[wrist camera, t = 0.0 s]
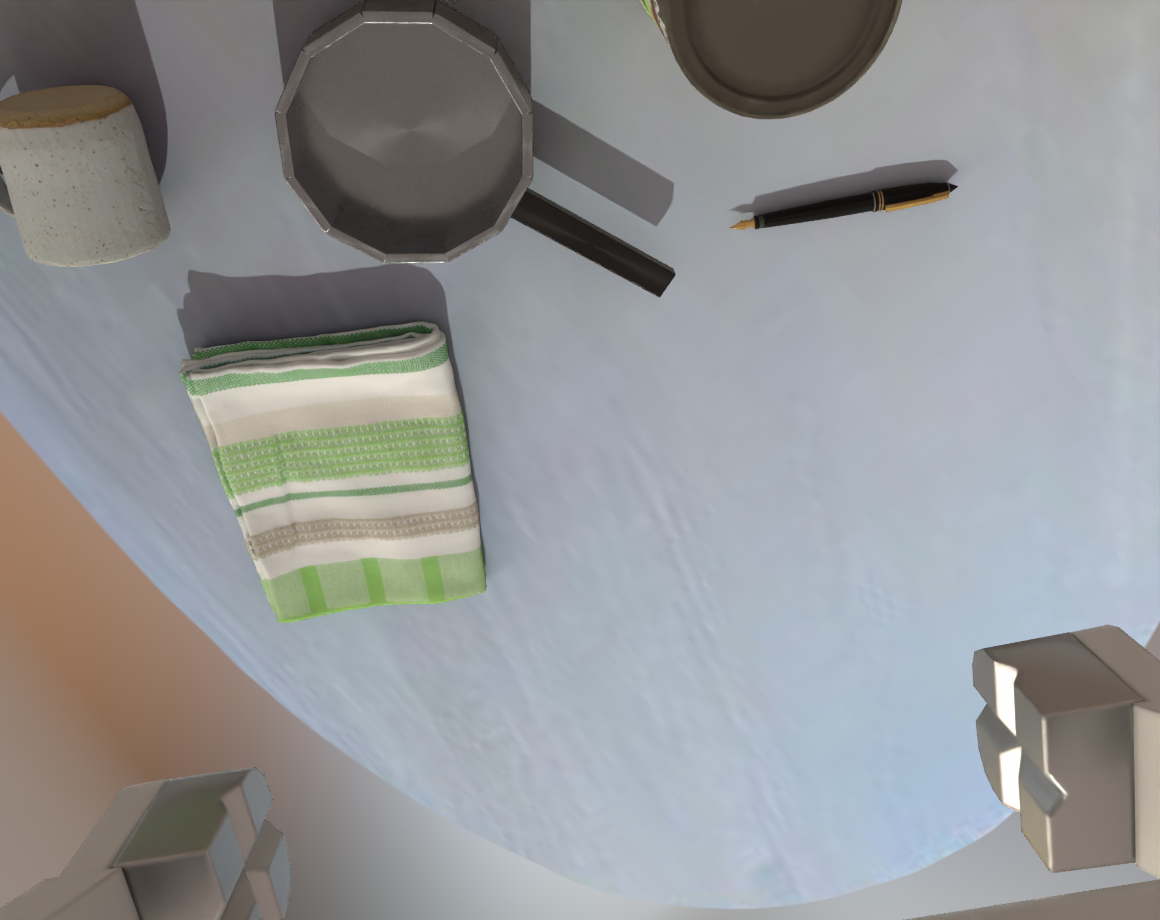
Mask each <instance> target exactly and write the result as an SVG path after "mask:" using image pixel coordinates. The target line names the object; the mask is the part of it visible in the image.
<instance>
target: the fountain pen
mask: <svg viewBox="0 0 1160 920" xmlns="http://www.w3.org/2000/svg"><path fill="white" fill-rule="evenodd" d="M957 187H958V186H955V185H953V184H950V183H926V184H918V185H910V186H902V187H896V188H890V189H884V190H878V191H872V192H871V193H869V194H863V195H858V196H852V197H847V198H841V199H836V200H831V201H826V202H821V203H816V204H811V205H806V206H802V207H797V208H792V209H787V210H783V211H778V212H773V213H769V214H764V215H760V216H754V218H753V219H751V220H746V221H741V222H739V223H738V224H736V225H735V226H732V227H730V228H736V229H741V230H743V229H746V228H749V227H753V228H755V229H759V228H766V227H773V226H780V225H787V224H794V223H801V222H808V221H814V220H821V219H828V218H834V217H840V216H845V215H851V214H857V213H863V212H868V211H872V212H876V211H881V210H886V212H890V211H895V210H900V209H904V208H909V207H914V206H918V205H923V204H928V203H932V202H936V201H939V200H942V199H945V198H949V193H950V192H952V191H953V190H954V189H955V188H957Z"/></svg>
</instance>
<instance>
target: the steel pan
mask: <svg viewBox="0 0 1160 920" xmlns="http://www.w3.org/2000/svg"><path fill="white" fill-rule="evenodd" d="M275 111H276V112H275V118H276V125H277V132H278V139H279V146H280V153H281V159H282V166H283V173H284V178H286V182H287V183H288V185H289V186H290V187H291V189H292V190H293V191H294V193H295V194H296V195H297V197H298V198H299V199H300V201H301V202H302V203H303V205H304V206H305V207H306V209H307V210H308V211H309V213H310V214H311V215H312V217H313V218H314V219H315V221H316V222H317V223H318V225H319V226H320V227H321V229H322V230H323V231H324V232H327V235H329V236H331V237H333V238H335V239H337V240H339V241H341V242H343V243H345V244H347V245H349V246H351V247H353V248H355V249H357V250H359V251H361V252H363V253H365V254H367V255H369V256H371V257H373V258H375V259H377V260H379V261H381V262H384V261H385V263H446V262H447V261H448V262H450V261H451V260H453V259H455V258H457V257H459V256H460V255H462V254H464V253H466V252H467V251H469V250H471V249H473V248H475V247H476V246H478V245H480V244H482V243H484V242H485V241H487V240H489V239H491V238H492V237H494V236H496V235H498V234H500V231H503V229H504V227H505V226H506V224H507V222H508V220H509V219H510V217H511V218H513V219H515V220H517V221H519V222H521V223H522V224H524V225H526V226H528V227H530V228H532V229H534V230H535V231H537V232H539V233H541V234H543V235H545V236H546V237H548V238H550V239H552V240H554V241H556V242H558V243H559V244H561V245H563V246H565V247H567V248H569V249H571V250H572V251H574V252H576V253H578V254H580V255H582V256H583V257H585V258H587V259H589V260H591V261H593V262H595V263H596V264H598V265H600V266H602V267H604V268H606V269H608V270H609V271H611V272H613V273H615V274H617V275H619V276H620V277H622V278H624V279H626V280H628V281H630V282H632V283H633V284H635V285H637V286H639V287H641V288H643V289H644V290H646V291H648V292H650V293H652V294H654V295H656V296H657V297H660V296H661V295H662V294H663V292H664V291H665V289H666V288H667V286H668V285H669V284H670V282H671V281H672V279H673V278H674V276H675V272H674V269H673V268H671V267H669V266H667V265H666V264H664V263H662V262H660V261H659V260H657V259H655V258H653V257H651V256H650V255H648V254H646V253H644V252H642V251H641V250H639V249H637V248H635V247H633V246H632V245H630V244H628V243H626V242H624V241H623V240H621V239H619V238H617V237H615V236H614V235H612V234H610V233H608V232H606V231H605V230H603V229H601V228H599V227H597V226H596V225H594V224H592V223H590V222H588V221H587V220H585V219H583V218H581V217H579V216H578V215H576V214H574V213H572V212H570V211H569V210H567V209H565V208H563V207H561V206H560V205H558V204H556V203H554V202H552V201H551V200H549V199H547V198H545V197H543V196H542V195H540V194H538V193H536V192H534V191H533V190H531V189H529V188H528V186H529V185H530V183H531V181H532V177H533V111H532V104H531V97H530V93H529V91H528V90H527V88H526V86H525V84H524V83H523V81H522V79H521V77H520V75H519V74H518V72H517V70H516V68H515V67H514V65H513V63H512V61H511V60H510V58H509V56H508V54H507V53H506V51H505V49H504V47H503V45H502V44H501V42H500V40H499V38H498V37H496V35H495V34H493V33H492V32H490V31H489V30H487V29H485V28H484V27H482V26H480V25H479V24H477V23H475V22H474V21H472V20H470V19H469V18H467V17H466V16H464V15H462V14H461V13H459V12H457V11H456V10H454V9H452V8H451V7H449V6H448V5H446V4H444V3H443V2H441V1H439V0H437V1H436V0H363V1H362V2H360V3H358V4H357V5H355V6H354V7H352V8H351V9H349V10H348V11H346V12H344V13H343V14H341V15H340V16H338V17H337V18H335V19H334V20H332V21H330V22H329V23H327V24H326V25H324V26H323V27H321V28H319V29H318V30H316V31H315V32H313V33H312V35H311V36H310V37H309V38H308V40H307V41H306V43H305V45H304V46H303V48H302V49H301V51H300V54H299V56H298V58H297V61H296V63H295V65H294V67H293V70H292V72H291V74H290V77H289V79H288V81H287V84H286V86H285V88H284V91H283V93H282V95H281V97H280V100H279V102H278V104H277V107H276V109H275Z"/></svg>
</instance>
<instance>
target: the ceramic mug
mask: <svg viewBox="0 0 1160 920" xmlns="http://www.w3.org/2000/svg"><path fill="white" fill-rule="evenodd" d="M0 166H1V169H2V172H3V175H4V178H5V181H6V184H5V183H4V181H3V179H2V177H1V176H0V210H2V211H3V212H4V213H6V214H8V215H10V216H11V217H13V218H15V219H16V221H17V225H18V228H19V232H20V236H21V239H22V243H23V246H24V249H25V251H26V253H27V255H28V257H30V258H31V259H32V260H34V261H36V262H39V263H42V264H47V265H52V266H60V267H64V266H67V267H80V266H89V265H98V264H107V263H112V262H118V261H122V260H126V259H129V258H132V257H135V256H137V255H139V254H143V253H146V252H148V251H150V250H152V249H154V248H155V247H157V246H158V245H160V244H161V243H162V242H164V241H165V240H166V239H167V238H168V236H169V234H170V230H171V229H170V224H169V220H168V217H167V213H166V210H165V206H164V203H163V199H162V196H161V192H160V189H159V185H158V182H157V178H156V175H155V171H154V168H153V165H152V162H151V158H150V155H149V152H148V148H147V144H146V139H145V135H144V131H143V128H142V125H141V122H140V119H139V117H138V115H137V113H136V111H135V109H134V107H133V105H132V102H131V100H130V99H129V98H128V97H127V95H126V94H124V93H123V92H121V91H119V90H117V89H115V88H112V87H109V86H102V85H72V86H62V87H53V88H45V89H39V90H34V91H29V92H25V93H21V94H17V95H14V96H11V97H8V98H6V99H4V100H2V101H1V102H0Z"/></svg>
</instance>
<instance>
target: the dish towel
mask: <svg viewBox="0 0 1160 920" xmlns="http://www.w3.org/2000/svg"><path fill="white" fill-rule="evenodd" d="M192 358H193V359H182V360H181V364H182V366H183V369H181V371H180V372H179V376H180V378H181V380H182V381H183V382H184V383H185V385H186V388H187V393H188V395H189V397H190V399H191V401H192V404H193V407H194V410H195V411H196V413H197V415H198V418H199V421H200V423H201V425H202V427H203V429H204V432H205V434H206V437H207V440H208V445H209V447H210V449H211V453H212V456H213V460H214V464H215V466H216V470H217V473H218V475H219V478H220V481H221V483H222V486H223V488H224V490H225V493H226V495H227V497H228V499H229V501H230V502H231V505H232V507H233V509H234V511H235V513H236V516H237V519H238V521H239V524H240V526H241V529H242V533H243V536H244V539H245V543H246V546H247V548H248V550H249V553H250V556H251V557H252V559H253V561H254V563H255V565H256V569H257V572H258V573H259V575H260V579H261V583H262V585H263V588H264V591H265V594H266V596H267V598H268V601H269V602H270V605H271V608H272V611H273V612H276V614H277V620H278V622H279V623H290V622H295V621H299V620H303V619H308V618H313V617H317V616H321V615H326V614H331V613H337V612H342V611H346V610H352V609H360V608H366V607H372V606H379V605H394V604H423V603H427V604H434V603H443V602H446V601H450V600H455V599H460V598H465V597H469V596H473V595H475V594H478V593H483V592H485V590H486V574H485V567H484V561H483V555H482V548H481V540H480V527H479V524H480V519H479V511H478V504H477V500H476V496H475V491H474V485H473V480H472V476H471V467H470V457H469V450H468V444H467V436H466V429H465V421H464V415H463V410H462V408H461V405H460V401H459V397H458V394H457V390H456V386H455V382H454V374H453V369H452V366H451V362H450V359H449V355H448V346H447V341H446V337H445V335H444V333H443V332H441V331H439V328H438V326H437V325H436V324H431V323H428V322H422V321H420V322H412V323H407V324H401V325H388V326H379V327H375V328H369V329H360V330H354V331H348V332H340V333H331V334H320V335H317V336H312V337H297V338H289V339H281V340H273V341H246V342H241V343H236V344H229V345H220V346H214V347H210V348H199V347H197V348H195V349H194V353H193V354H192Z"/></svg>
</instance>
